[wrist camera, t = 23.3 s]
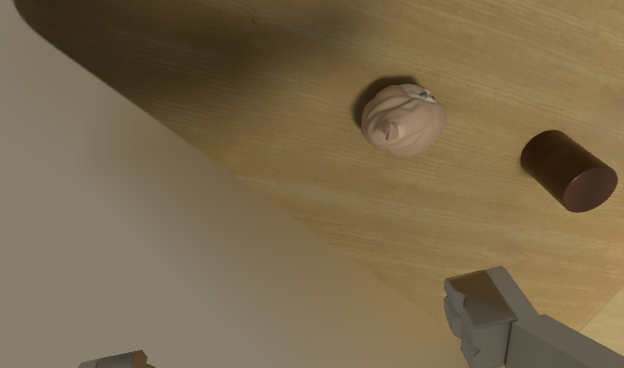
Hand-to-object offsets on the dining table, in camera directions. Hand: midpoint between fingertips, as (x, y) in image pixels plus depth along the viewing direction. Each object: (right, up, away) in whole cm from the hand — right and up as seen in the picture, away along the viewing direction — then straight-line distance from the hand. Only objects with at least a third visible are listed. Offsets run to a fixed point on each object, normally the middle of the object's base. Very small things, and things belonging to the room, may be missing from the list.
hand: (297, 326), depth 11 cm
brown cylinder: (+24, +7, +32) cm, 41 cm away
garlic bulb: (+8, +11, +27) cm, 30 cm away
